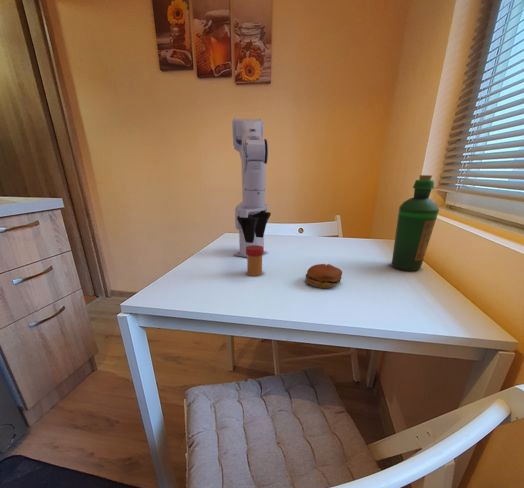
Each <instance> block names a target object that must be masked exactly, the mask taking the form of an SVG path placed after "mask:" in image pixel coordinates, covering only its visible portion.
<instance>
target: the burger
mask: <svg viewBox="0 0 524 488" xmlns="http://www.w3.org/2000/svg"><path fill="white" fill-rule="evenodd" d="M342 276H343V271H342V269H340V268H339V267H338V266H334V265H332V264H330V263H327V264H326V263H319V264H313V265H312V266H310V267H309V268H308V269H307V271H306V273H305V279H306V283H307V284H308V285H309V286H312V287H315V288H319V289H330V288H333V287H334V286H336V285H338V284H339V283H341V280H342Z"/></svg>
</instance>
